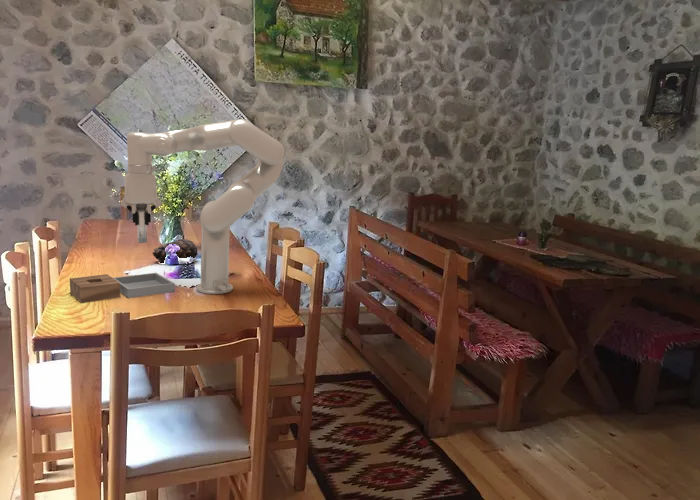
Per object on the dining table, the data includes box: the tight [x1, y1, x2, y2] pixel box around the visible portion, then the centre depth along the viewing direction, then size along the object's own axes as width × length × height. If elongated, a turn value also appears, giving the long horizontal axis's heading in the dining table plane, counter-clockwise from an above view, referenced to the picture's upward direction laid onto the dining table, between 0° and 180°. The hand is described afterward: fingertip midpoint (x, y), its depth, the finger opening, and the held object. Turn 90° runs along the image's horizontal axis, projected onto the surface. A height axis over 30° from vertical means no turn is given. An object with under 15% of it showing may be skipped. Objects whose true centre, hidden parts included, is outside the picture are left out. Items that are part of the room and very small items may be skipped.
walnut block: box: [69, 273, 121, 304], centre depth 192 cm, size 12×12×5 cm
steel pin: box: [136, 203, 148, 244], centre depth 197 cm, size 4×4×14 cm
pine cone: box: [151, 238, 199, 263], centre depth 240 cm, size 10×18×10 cm, turn 118°
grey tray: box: [112, 272, 176, 299], centre depth 202 cm, size 16×16×3 cm
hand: (141, 224), depth 197 cm, fingers closed on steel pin, 3 cm apart
